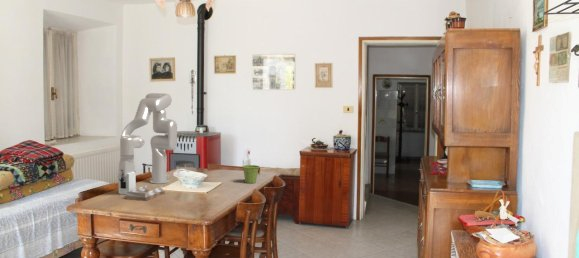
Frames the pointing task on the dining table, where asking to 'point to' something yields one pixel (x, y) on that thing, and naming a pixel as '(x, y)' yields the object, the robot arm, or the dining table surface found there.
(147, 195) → the board
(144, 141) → the robot arm
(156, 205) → the dining table surface
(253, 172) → the plant pot
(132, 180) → the supplement box
